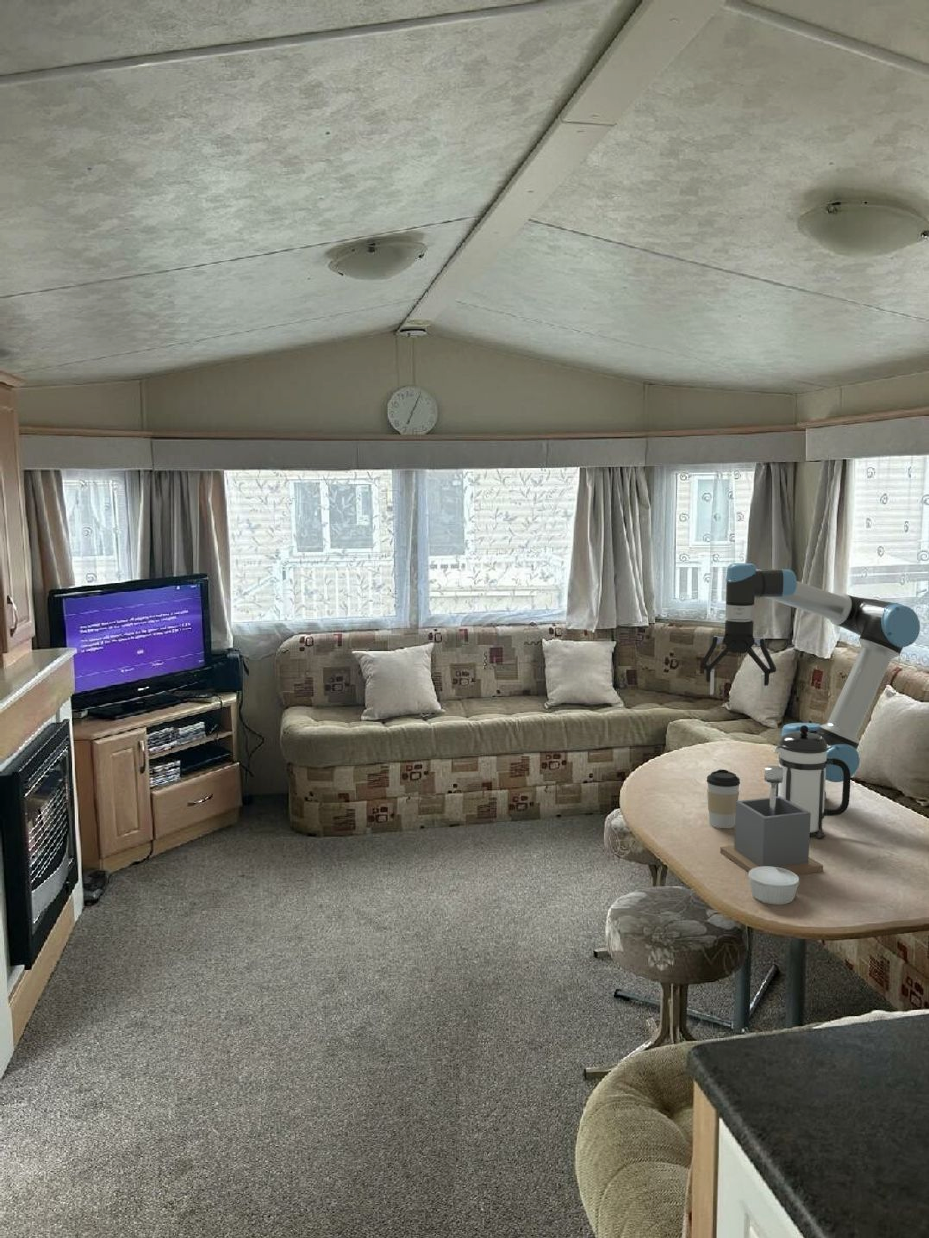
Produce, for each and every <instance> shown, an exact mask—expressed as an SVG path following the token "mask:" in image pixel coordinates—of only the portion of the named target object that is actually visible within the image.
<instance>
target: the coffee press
mask: <svg viewBox="0 0 929 1238" xmlns="http://www.w3.org/2000/svg"><path fill="white" fill-rule="evenodd" d="M808 730H809V729H808V727H807V726H805V725H803V726H801V727H800V731H801V732H792V733H788V734H786V735H784V736H783V737H782V738H781V739H780V740H778V744H777V745H776V747H775V748H774V750H773V752H772V753H773V754H777V755H778V763H779V764H778V765H779V767H782V768H783V782H782V783H779V787H778V796H781V797H782V798H784V799H786V800H788V801H790V802H792V803H793V804H795V805H797V806H799V807H801V808H803V809H804V810H806V811H808V812H810V813H811V816H810V834H811V833H814V834H815V835H816V837H817V838H818V839H819V840H821V839H822V840H823V839H825V838H826V834H825V832H824V830H823V826H824V819H825V817H836V816H839V815H842V814H844V813H845V811H847V810H848V807H849V804H850V796H851V794H850V793H851V777H850V770H849V768H848V766H847V765H846V763H845V762H844V761H842V760H840V759H837V758H833V759H828V758H826V757H827V751H828V748H829V746H828V744H827V743H826V741H825V739H824V738H823V737H821V736H819V735H817V734H813V733H808ZM827 764H833V765H837V766H839V767H841V769H842V771H843V781H842V796H841V802H840V805H839V806H838V807H836V808H825V802H824V799H825V791H826V780H825V778H826V767H827Z"/></svg>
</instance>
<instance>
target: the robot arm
mask: <svg viewBox="0 0 929 1238" xmlns="http://www.w3.org/2000/svg"><path fill="white" fill-rule="evenodd" d="M725 583H726V585H725V586H726V587H725V588H726V590H725V594H726V595H725V612H724V613H725V616H724V617H725V618H726V620H725V621H724V623H725V624H724V636H718V635H717V634H715V635H714V636H713V637H712V642H711V645H710V648H709V649H708V651H707V652H706V654H705V656H704V657H703V660H702V661H701V663H700V666H699V668H700V669H703V670H705V671H706V677H705V678H706V680H705V681H706V682H707V683H709V695H710V696H711V695H712V696H713V695H714V692H715V691H714V690H715V689H714V688H715V681H714V680H715V669H714V667H715V666H716V665H717V664H719V662H721V660H722V659H723V658H724V657H725V656H726V655H727V654H728V653H729V652H730V653H731V654H743V655H744V654H746V653H747V654H748V655H749V656H750V657H751V659H752V660H753V661H754V662H755V663H756V665H757V666H758V667H759V668H760V670H761V671H762V673H761V681H760V684H761V685H760V686H761V687H760V698H761V699H764V697H765V686H769V683H770V674H772V673H776V672H777V667H776V665H775V662H774V661H773V658H772V657H771V654H770V651H769V650H768V648H767V646H766V639H765V637H760V638H759V637H758V638H755V637H754V621H753V620H754V617H755V599H756V598H757V599H758V598H759V599H760V598H765V599H769V600H772V601H774V602H777V603H781V604H783V605H786V606H790V607H791V608H795V609H798V610H801V611H804V612H807V613H810V614H813V615H815V616H819V617H822V618H825V619H828V620H829V622H830V623H831V624H833V625H835V626H837V627H840V628H842V629H845V630H847V631H849V632H852V633H853V634H856V635H858V636H859V639H858V641H859V643H860V646H861V647H860V650H859V652H858V655H857V657H856V659H855V661H854V664H853V665H852V667H851V668H850V672H849V674H848V677H847V679H846V681H845V683H844V685H843V688H842V690H841V691H840V694H839V695H838V698H837V700H836V702H835V705H834V707H833V709H832V711H831V714H830V716H829V717H828V720H827V722H826V723H824V724H819V723H815V722H792V723H791V722H790V723H787V724H785V725H783V727H782V729H781V735H780V737H781V738H782V737H783V736H784V735H786V734H788V733H792V732H801V731H800V727H801V726H803V725H805V726H807V727H808V729H809V730H808V733H813V734H817V735H819V736H821V737H823V738H824V739H825V741H826V743H827V744H828V746H829V748H828V751H827V757H826V758H828V759H833V758H837V759H840V760H842V761H844V762H845V763H846V765H847V766H848V768H849V770H850V778H852V777H853V775H855V773H856V772H857V770H858V769H859V766H860V762H861V761H860V757H859V756H860V755H859V752H858V751H857V750H858V748H859V745H860V744H861V743H860V740H859V738H858V733H859V731H860V729H861V727H862V724H863V723H864V721H865V718H866V716H867V714H868V712H869V709H870V707H871V705H872V703H873V700H874V698H875V697H876V694H877V692H878V690H879V688H880V686H881V683H882V682H883V679H884V677H885V674H886V672H887V670H888V667H889V665H890V663H891V662H892V660H893V659H894V658H897V657H899V656H900V655H901V653H902V651H903V648H906V647H910V645H913V644H914V643H915V642H916V640H917V639H918V637H919V634H920V631H921V623H920V619H919V617H918V615H917V613H916V612H915V610H914V609H912V608H911V607H910V606H906V605H905V604H902V603H898V602H893V601H892V602H890V601H885V600H884V601H883V600H879V599H876V598H875V599H874V598H867V597H866V598H865V597H860V596H859V597H858V596H854V595H853V596H852V595H849V594H846V593H840V594H839V595H838V594H836V593H834V592H830V591H827V590H824V589H822V588H820V587H819V588H818V587H815V586H812V585H809V584H808V583H807V584H806V583H804V582H801V581H798V580H797V576H796V574H795V572H794V571H793V570H792V569H783V568H780V569H772V568H768V567H767V568H766V567H758V566H756V565H755V564H753V563H748V562H746V563H745V562H744V563H743V562H737V563H730V564H729V565H728V566H727V569H726V578H725ZM721 642H722V643H723V644H724V646H725V647H724V648H723V650H722V651H721V652H720V653H719V654H718V655H717V656H716V657H715V658H714V659H713V660H712V661H711V662H710V663H709V664H707V662H708V661H709V659H710V658H711V656H712V654H713V653H714V651H715V649H716V648H717V645H720V644H721ZM755 644H756V645H757V646H758V647H760V650H761V652H762V655H763V656H764V658H765V661H766V663H767V665H768V667H767V665H766V664H765V663H764V661H763V660H762V659H761V657H759V656H758V654H757V653H756V652H755V650H754V649H753V648H752V647H753V645H755ZM825 781H829V782H831V783H843V771H842V769H841V767H839V766H837V765H833V764H827V767H826V778H825ZM778 787H779V783H776V797H778ZM826 801H827V792H826V790H825V799H824V803H826Z"/></svg>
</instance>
